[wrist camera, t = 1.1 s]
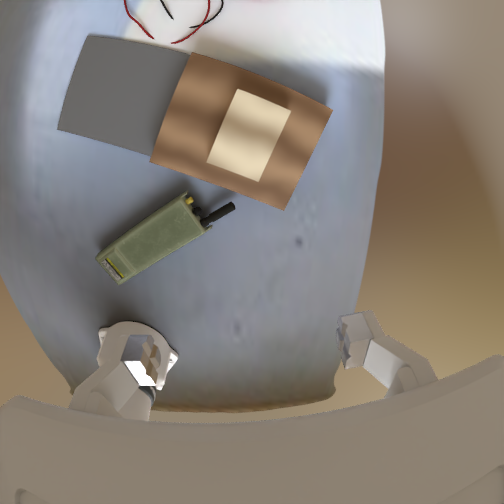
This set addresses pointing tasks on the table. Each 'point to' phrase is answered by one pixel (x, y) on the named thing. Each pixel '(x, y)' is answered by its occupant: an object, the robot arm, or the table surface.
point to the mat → (121, 92)
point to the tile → (248, 135)
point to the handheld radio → (156, 237)
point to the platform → (211, 118)
